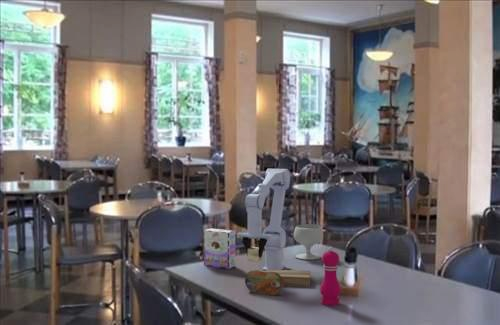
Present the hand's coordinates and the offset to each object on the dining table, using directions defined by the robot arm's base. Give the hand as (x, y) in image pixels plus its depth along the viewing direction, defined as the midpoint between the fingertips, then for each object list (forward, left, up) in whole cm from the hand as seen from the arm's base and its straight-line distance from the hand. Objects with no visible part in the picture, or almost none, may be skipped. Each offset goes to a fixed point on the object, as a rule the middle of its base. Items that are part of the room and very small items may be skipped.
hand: (254, 256), depth 232 cm
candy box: (-15, -22, -10) cm, 28 cm away
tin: (+17, +10, -10) cm, 22 cm away
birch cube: (0, 0, -2) cm, 2 cm away
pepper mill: (+21, +36, -10) cm, 43 cm away
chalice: (-45, +11, -10) cm, 47 cm away
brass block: (0, +14, -10) cm, 17 cm away
